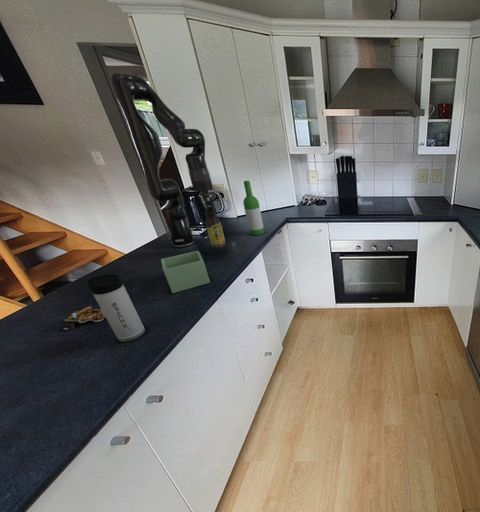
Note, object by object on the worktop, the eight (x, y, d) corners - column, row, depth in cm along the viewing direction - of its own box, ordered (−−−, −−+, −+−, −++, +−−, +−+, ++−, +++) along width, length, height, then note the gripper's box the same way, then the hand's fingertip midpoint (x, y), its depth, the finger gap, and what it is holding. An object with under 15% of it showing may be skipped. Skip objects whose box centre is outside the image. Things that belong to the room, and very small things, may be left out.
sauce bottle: (219, 249, 130) (208, 209, 121) (208, 247, 131) (196, 208, 122) (229, 243, 136) (219, 205, 127) (218, 242, 137) (208, 204, 128)
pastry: (115, 317, 90) (110, 308, 88) (63, 331, 83) (57, 322, 82) (118, 306, 95) (113, 298, 93) (69, 319, 88) (63, 310, 87)
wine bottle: (258, 236, 154) (246, 183, 140) (247, 235, 156) (235, 181, 143) (267, 232, 160) (257, 180, 147) (256, 230, 162) (246, 179, 149)
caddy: (169, 280, 110) (160, 259, 106) (205, 271, 118) (198, 250, 113) (172, 293, 102) (163, 270, 98) (210, 282, 110) (203, 260, 105)
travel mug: (127, 328, 85) (98, 272, 76) (150, 327, 85) (124, 272, 77) (111, 342, 79) (78, 284, 71) (135, 341, 80) (105, 283, 71)
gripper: (188, 177, 122) (199, 214, 130) (193, 182, 112) (204, 221, 120) (207, 175, 126) (216, 211, 134) (213, 180, 117) (223, 218, 124)
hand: (211, 216), depth 127 cm, fingers closed on sauce bottle, 4 cm apart
